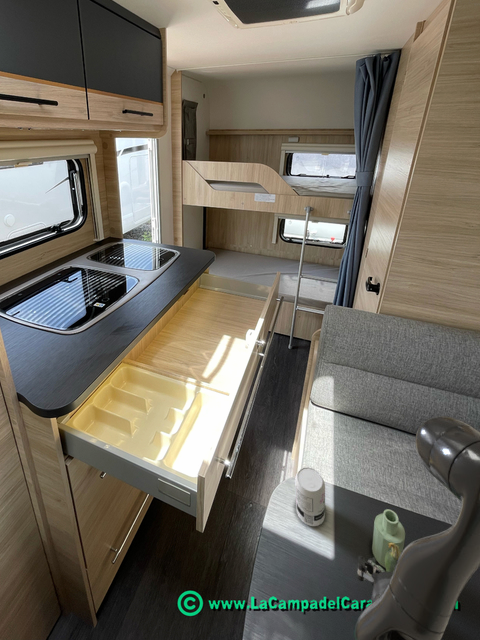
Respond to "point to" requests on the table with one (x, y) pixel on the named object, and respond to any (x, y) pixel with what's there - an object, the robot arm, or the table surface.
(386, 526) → the green bottle
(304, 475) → the supplement can
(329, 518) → the table surface
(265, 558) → the table surface
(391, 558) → the vegetable
